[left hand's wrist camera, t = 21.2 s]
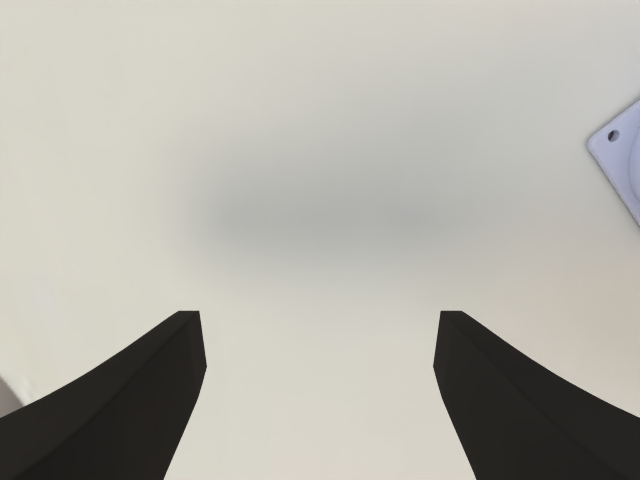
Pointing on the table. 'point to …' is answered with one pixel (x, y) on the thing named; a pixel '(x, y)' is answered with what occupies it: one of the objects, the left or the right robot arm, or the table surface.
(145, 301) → the table surface
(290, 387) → the table surface
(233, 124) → the table surface
